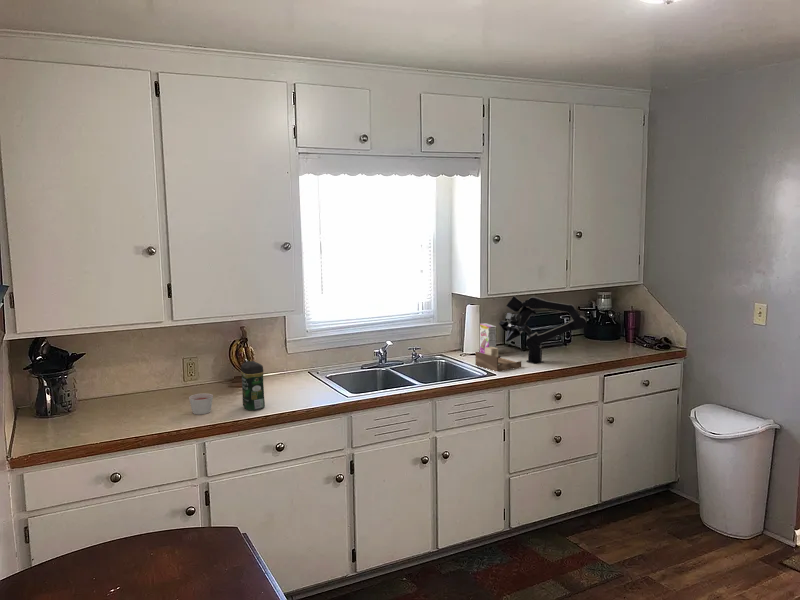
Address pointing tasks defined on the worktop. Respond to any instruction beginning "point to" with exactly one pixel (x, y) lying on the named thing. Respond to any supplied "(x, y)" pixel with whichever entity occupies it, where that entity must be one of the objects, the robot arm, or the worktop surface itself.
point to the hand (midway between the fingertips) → (506, 340)
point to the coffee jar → (252, 385)
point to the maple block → (491, 351)
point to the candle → (201, 403)
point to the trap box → (495, 362)
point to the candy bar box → (487, 336)
